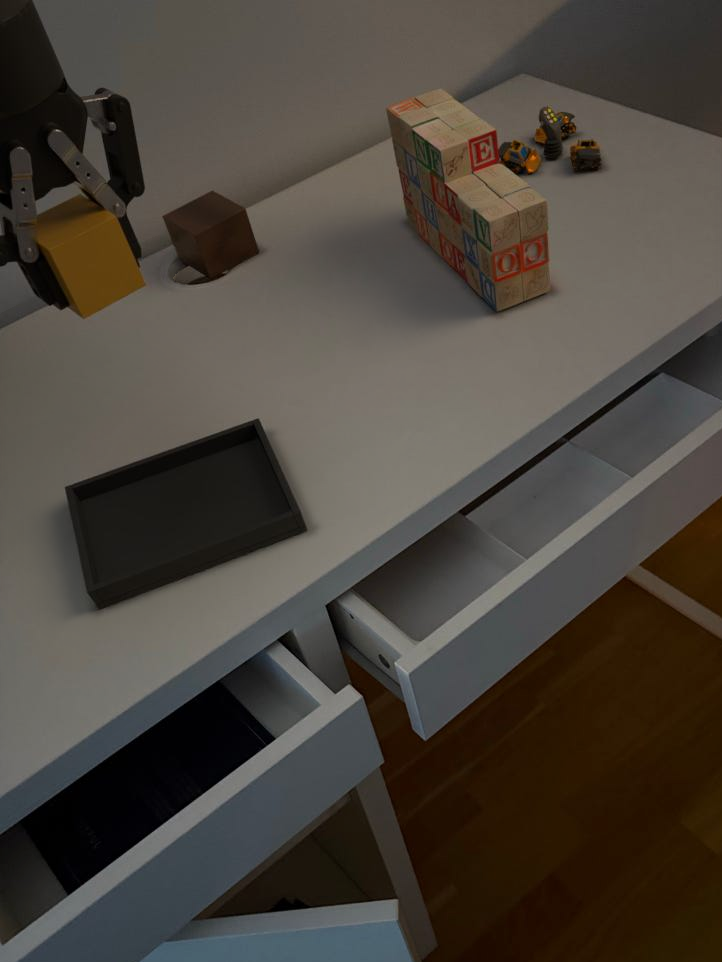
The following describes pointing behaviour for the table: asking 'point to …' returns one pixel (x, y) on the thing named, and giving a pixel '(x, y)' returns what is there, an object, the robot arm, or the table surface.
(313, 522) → the table surface
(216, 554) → the tray
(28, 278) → the robot arm
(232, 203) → the base block
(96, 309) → the top cube
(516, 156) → the toy set
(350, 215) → the table surface
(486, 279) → the stack of blocks
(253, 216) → the table surface
